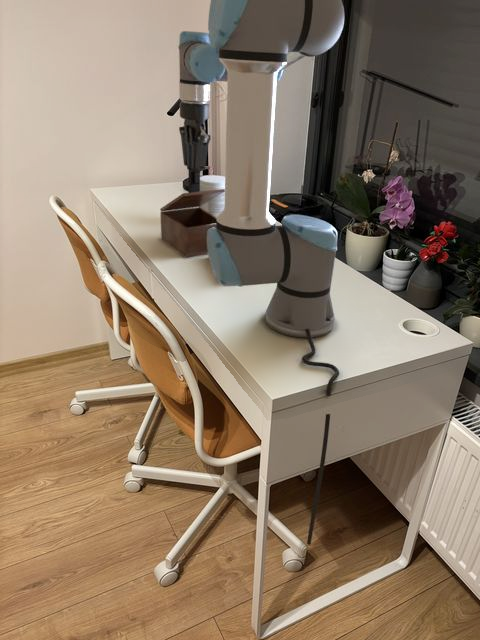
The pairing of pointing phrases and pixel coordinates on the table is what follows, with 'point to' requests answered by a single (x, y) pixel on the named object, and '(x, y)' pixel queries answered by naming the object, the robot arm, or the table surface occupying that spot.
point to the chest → (187, 230)
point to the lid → (192, 199)
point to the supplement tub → (213, 183)
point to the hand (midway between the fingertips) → (194, 194)
